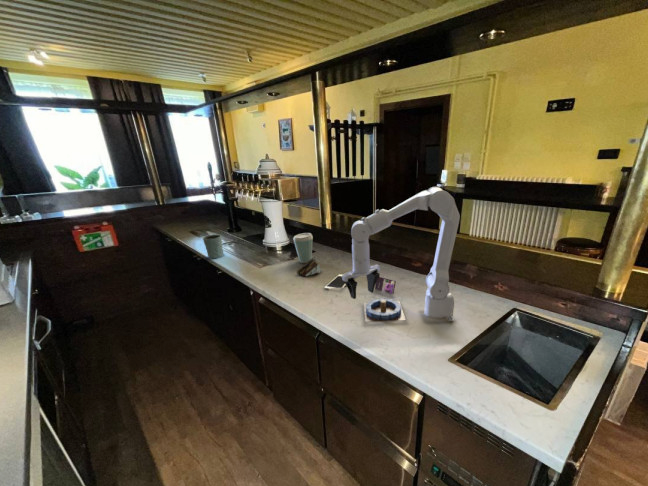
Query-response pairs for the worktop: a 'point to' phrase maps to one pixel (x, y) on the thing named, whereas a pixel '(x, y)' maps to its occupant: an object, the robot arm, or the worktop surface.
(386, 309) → the platform
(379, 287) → the purple printed box
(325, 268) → the worktop surface
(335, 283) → the cell phone
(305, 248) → the disposable coffee cup
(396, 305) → the ring
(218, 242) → the grey green cup
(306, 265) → the chocolate cake
